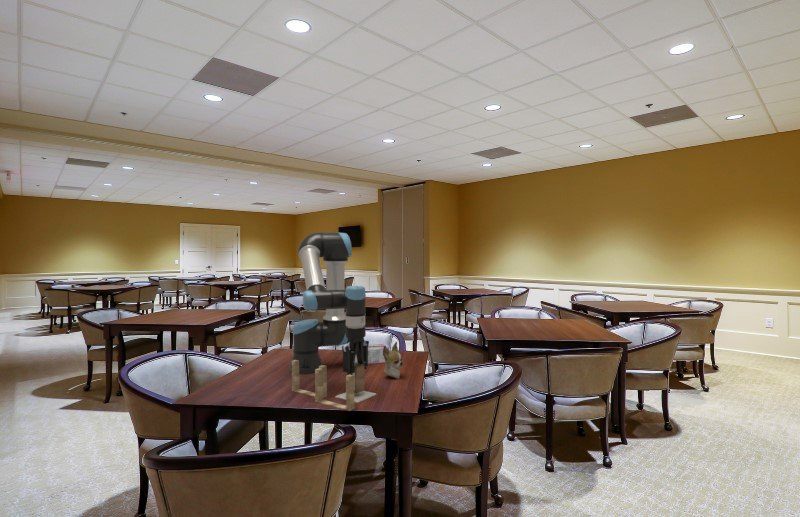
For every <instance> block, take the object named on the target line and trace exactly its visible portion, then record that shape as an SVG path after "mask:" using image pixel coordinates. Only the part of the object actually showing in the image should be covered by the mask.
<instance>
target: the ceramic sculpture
mask: <svg viewBox="0 0 800 517" xmlns="http://www.w3.org/2000/svg"><path fill="white" fill-rule="evenodd" d="M383 356H384V358H385V363H384V364H385V368H384V369H383V373H384V374H386V375H388V376H389V377H391V378H394V379H398V380H399V379H400V376H401V375H400V374H401V373H400V369H401V368H402V367H403V362H402V360H403V359H402V354H401V353H400V352H399V349H398V341H395V342H394V344H393V345H392V347H391V350H390V349H389V348H388V347H387V346H386V345H384V349H383Z"/></svg>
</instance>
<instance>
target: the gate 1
mask: <svg viewBox="0 0 800 517" xmlns="http://www.w3.org/2000/svg"><path fill="white" fill-rule="evenodd" d="M291 361H292V360H291ZM327 367H328V366H327V365H323V364H322V366H319V368H320V369H323V399H325V398H327V397H328V393H327V392H328V391H327V390H328V387H327V384H328V382H327V381H328V379H327V378H328V376H327V374H328V370H327ZM291 391H292V392H295V393H300V394H303V395H307V396H312V397H314V398H315V391H314V392H313V391H309V390H305V389H301V388H300V374H299V360H293V361H292V373H291Z"/></svg>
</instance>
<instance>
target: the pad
mask: <svg viewBox="0 0 800 517" xmlns="http://www.w3.org/2000/svg"><path fill="white" fill-rule="evenodd" d="M376 395H377V393H375V392H371V391H368V390H367V391H366V390H364V391H362V392H360V393H357V394H356V393H354V403H356V404H357V403H358V404H359V403H360V402H361V403H362V402H363V401H365V400H367V399H369V398H373V397H375V396H376ZM334 398H336V399H341V400H344V401H346V391H345V392H343V393H340V394H337V395H335V397H334Z"/></svg>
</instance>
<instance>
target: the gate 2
mask: <svg viewBox="0 0 800 517" xmlns="http://www.w3.org/2000/svg"><path fill="white" fill-rule="evenodd" d="M314 386H315V387H314V393H315V397H314V399H315V400H314V402H315V403H318V404H319V403H320V404H322V405H326V406H329V407H334V408H338V409H342V410H344V411H349V412H351V411H353V410H355V402H354V375H346V376H345V392H346V400H345V404H342V403H337V402H334V401H330V400H326V399H324V398H323V369H320V368H318V369H315V373H314Z"/></svg>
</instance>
